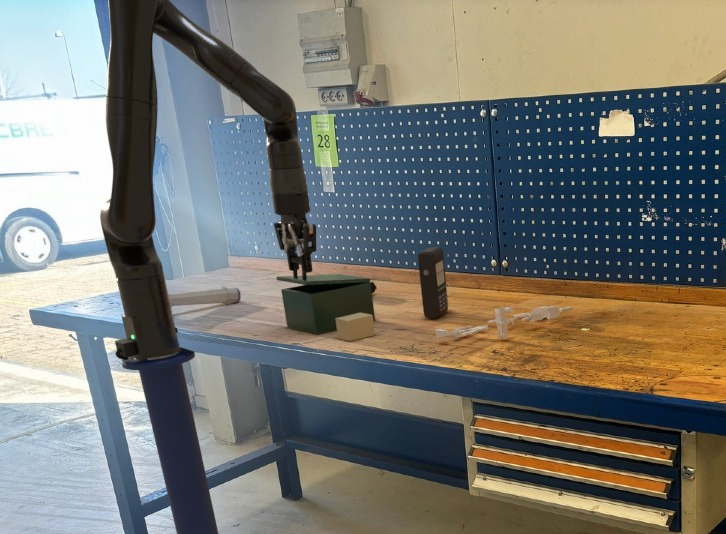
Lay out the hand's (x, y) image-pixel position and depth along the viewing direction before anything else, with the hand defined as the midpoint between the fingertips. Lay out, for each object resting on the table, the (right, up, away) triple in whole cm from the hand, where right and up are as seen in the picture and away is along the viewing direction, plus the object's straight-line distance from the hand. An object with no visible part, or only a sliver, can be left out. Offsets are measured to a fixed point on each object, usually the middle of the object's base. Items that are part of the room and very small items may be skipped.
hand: (300, 270), depth 187 cm
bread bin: (+5, -10, +8) cm, 14 cm away
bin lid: (+4, -1, +5) cm, 6 cm away
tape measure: (+7, +1, +37) cm, 37 cm away
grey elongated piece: (+44, -15, -8) cm, 47 cm away
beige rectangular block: (+13, -15, -5) cm, 21 cm away
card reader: (+29, -8, +10) cm, 32 cm away
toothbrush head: (-36, -4, +33) cm, 49 cm away
